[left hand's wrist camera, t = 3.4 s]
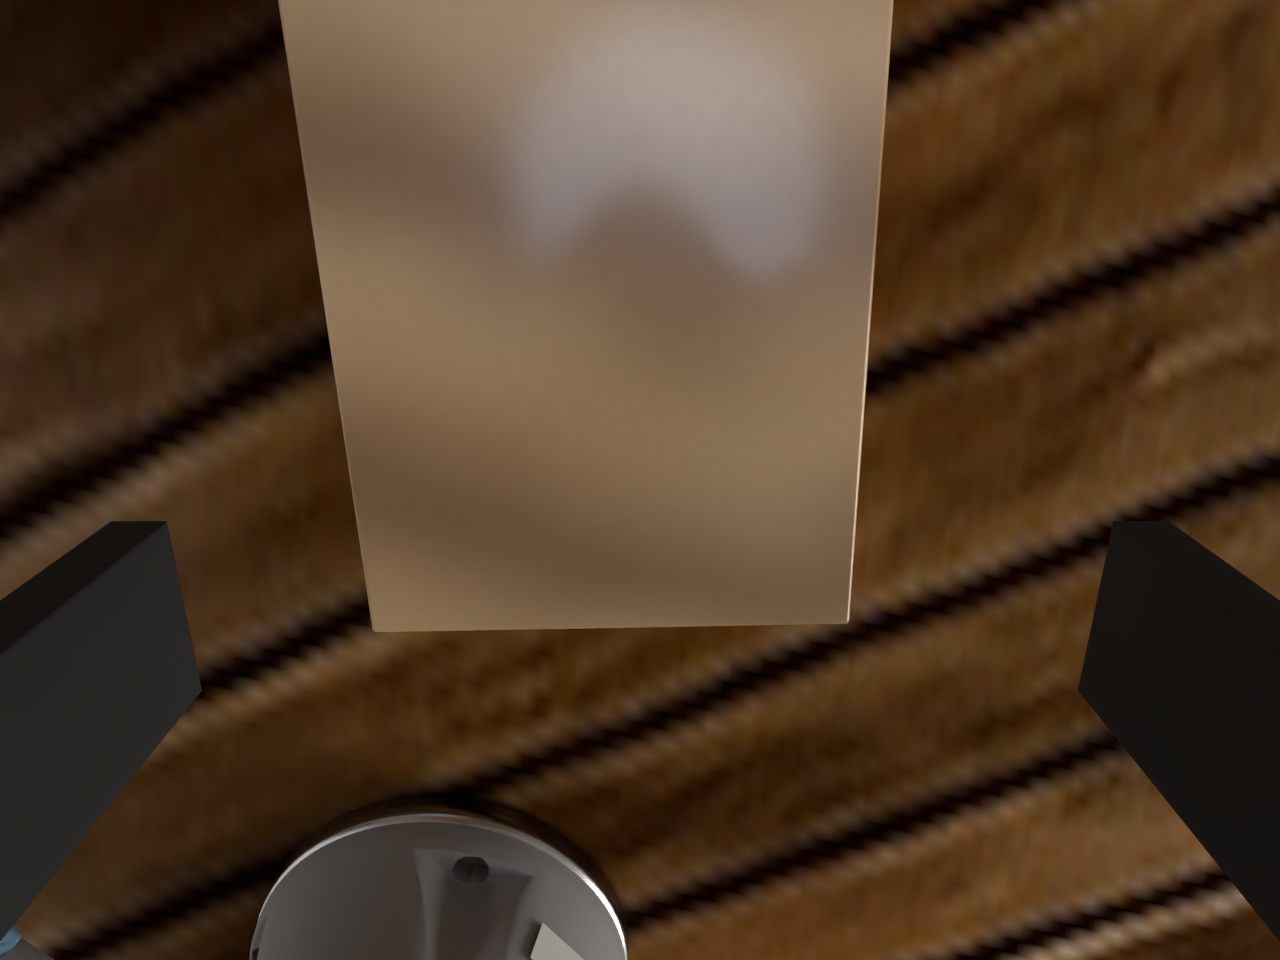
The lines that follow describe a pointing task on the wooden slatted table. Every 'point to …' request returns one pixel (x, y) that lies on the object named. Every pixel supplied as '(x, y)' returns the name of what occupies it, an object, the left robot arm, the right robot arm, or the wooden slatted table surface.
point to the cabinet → (597, 300)
